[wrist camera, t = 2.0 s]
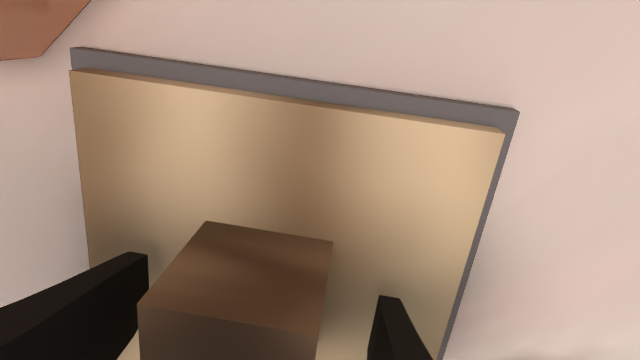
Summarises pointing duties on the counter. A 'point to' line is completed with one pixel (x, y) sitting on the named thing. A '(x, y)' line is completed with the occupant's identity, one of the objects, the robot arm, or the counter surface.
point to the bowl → (33, 25)
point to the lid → (275, 214)
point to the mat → (323, 93)
